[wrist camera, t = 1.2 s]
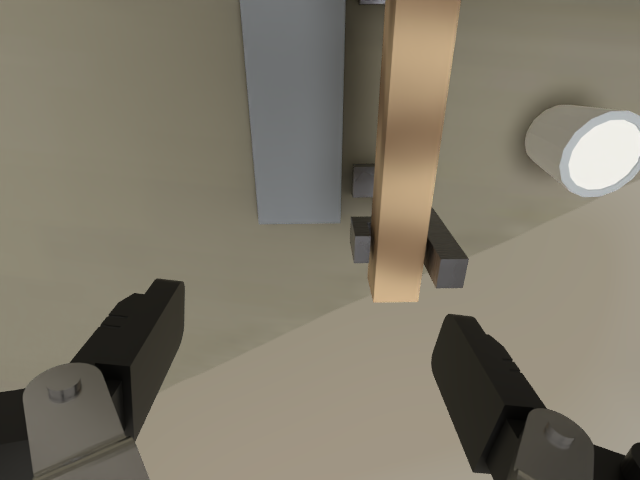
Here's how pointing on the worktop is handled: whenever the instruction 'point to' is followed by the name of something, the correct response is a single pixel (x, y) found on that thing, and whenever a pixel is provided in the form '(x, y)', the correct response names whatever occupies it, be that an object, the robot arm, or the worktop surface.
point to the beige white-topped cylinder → (586, 147)
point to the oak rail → (408, 140)
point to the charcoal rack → (441, 247)
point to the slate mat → (295, 106)
